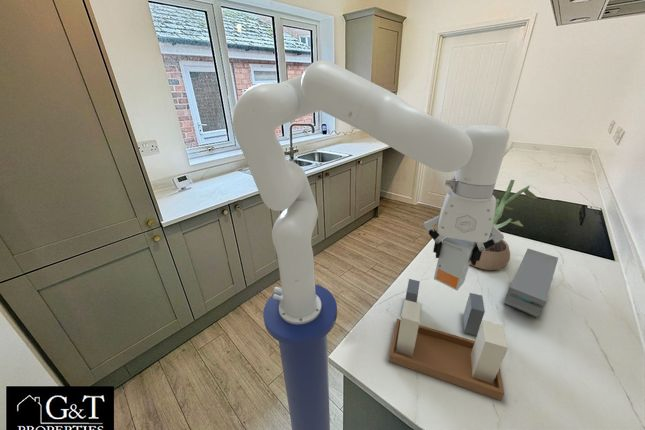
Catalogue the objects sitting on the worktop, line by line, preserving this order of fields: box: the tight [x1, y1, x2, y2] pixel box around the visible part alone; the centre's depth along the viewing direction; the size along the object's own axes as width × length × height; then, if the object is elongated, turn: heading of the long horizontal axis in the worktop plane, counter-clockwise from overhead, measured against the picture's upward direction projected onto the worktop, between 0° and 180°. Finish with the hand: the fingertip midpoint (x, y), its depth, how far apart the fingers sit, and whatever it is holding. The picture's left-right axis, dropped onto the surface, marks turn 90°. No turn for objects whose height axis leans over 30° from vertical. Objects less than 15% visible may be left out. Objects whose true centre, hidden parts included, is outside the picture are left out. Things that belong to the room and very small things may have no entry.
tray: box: [388, 318, 505, 401], centre depth 64 cm, size 24×12×3 cm, turn 67°
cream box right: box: [471, 319, 509, 384], centre depth 58 cm, size 4×6×12 cm, turn 157°
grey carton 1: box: [404, 278, 421, 303], centre depth 76 cm, size 3×6×9 cm, turn 157°
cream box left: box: [396, 299, 422, 357], centre depth 64 cm, size 4×6×12 cm, turn 157°
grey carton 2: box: [462, 292, 486, 337], centre depth 70 cm, size 3×6×9 cm, turn 157°
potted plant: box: [469, 179, 538, 271], centre depth 94 cm, size 22×18×30 cm
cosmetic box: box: [433, 237, 476, 291], centre depth 63 cm, size 6×4×12 cm
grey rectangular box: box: [504, 248, 559, 318], centre depth 78 cm, size 25×8×11 cm, turn 136°
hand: (454, 257), depth 62 cm, fingers closed on cosmetic box, 7 cm apart
